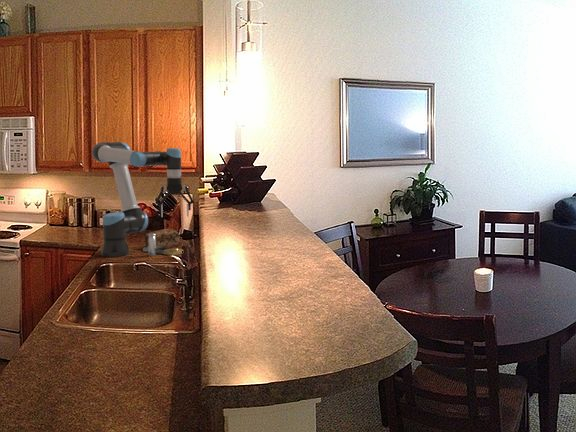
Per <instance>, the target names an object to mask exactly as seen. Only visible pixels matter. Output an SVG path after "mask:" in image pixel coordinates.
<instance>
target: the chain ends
mask: <svg viewBox="0 0 576 432" xmlns="http://www.w3.org/2000/svg"><path fill="white" fill-rule="evenodd" d="M142 251H143V252H144V253H145V252H146V253H149V249H148V246H147V247H146V246H145V247H143V248H142ZM182 251H183V252H184V249H181V248H177V247H159V246H156V254H160V255H167V256H172V255H174V256H177V255H182V254H183V253H182Z"/></svg>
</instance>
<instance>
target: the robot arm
mask: <svg viewBox="0 0 576 432" xmlns="http://www.w3.org/2000/svg"><path fill="white" fill-rule="evenodd" d="M91 149H92V150H91V155H92V158H93V159H94V161H96V162H98V163H103V164H105V163H106V164H107V163H108V166H109V168H110V169H112V172H113V176H114V179H115V184H116V187H117V191H118V196H119V200H120V204H121V207H122V209H121V210H120V211H114V212H109V213H105V214H104V215H103V216H102V231H103V232H102V234H103V244H102V247H101V251H100V254H101V256H102V257H108V258H111V257H113V258H115V257H123V256H128V255H129V254H130V248H129V244H128V242H127V241H126V235H128V234H134V233H136V234H138V233H140V232H144V231H145V230H146V229H147V227H148V225H149V217H148V215H147V213H146V211H142V208H141V206H139V205H138V203H137V198H136V194H135V190H134V186H133V182H132V177H131V173H130V171H129V165H132V166H133V167H138V168H141V167H156V166H162V167H163V166H164V167H165V166H166V177H167V178H166V182H167V183H166V184H167V185H166V186H163V185H162V186H161V189H160V192H159V194H158V196H157V197H156V199H155V201H154V202H155V205H158V211H159V212H161V213H160V215H161V218H163V217H164V216H163V215H164V214H163V213H164V212H163V211H164V210H163V203H164V202H165V201H166V200H167V198H168V197H169V196H170V195H172V196H173V195H175V196H178V195H179V196H180V197H182V199H184V201H185V202H186V217H188V218H189V213H190V212H189V211H191V207H192V206H191V205H192V204H194V202H195V201H194V200H193V197H192V195H191V194H190V191H189V189H188V186H187V185H185V186H182V183H183V182H182V151H181V149H180V148H179V147H178V148H177V147H175V148H172V147H170V148H169V147H168V148H166V151H160V150H155V151H139V150H132V148H130V146H129V145H128V144H127V143H126V142H122V141H121V142H120V141H117V142H116V141H115V142H114V141H113V142H111V141H109V142H106V141H105V142H104V141H102V142H98V143H96V144H95V145H94V146H93V147H92V148H91ZM166 190H167V193H165V195H164V196H163V197H162V195H163V194H164V191H166ZM182 190H184V191H185V192H186V194H187V197H188V198H189V199H188V198H187V197H186V196H185V195H184V193H183V192H182ZM161 198H162V199H161Z"/></svg>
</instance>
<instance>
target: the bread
mask: <svg viewBox="0 0 576 432" xmlns="http://www.w3.org/2000/svg"><path fill="white" fill-rule="evenodd" d="M150 233H155V234H156V235H155V239H156V246H159V247H167V248H170V247H172V246H173V247H174V246H176V245H179V242H180V235H179V232H178V231H176V229H173V228H164V229H159V230H156V231H151V232H148V233H146V234H145V236H144V244H145V247H147V246H148V236H147V234H150Z"/></svg>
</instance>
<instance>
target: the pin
mask: <svg viewBox="0 0 576 432" xmlns="http://www.w3.org/2000/svg"><path fill="white" fill-rule="evenodd" d="M149 233H150V234H147V233H146V234H147V236H148V249H149V252H148V256H149V257H155V256H157V253H156V239H155V235H156V234H155V233H151V232H149Z"/></svg>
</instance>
